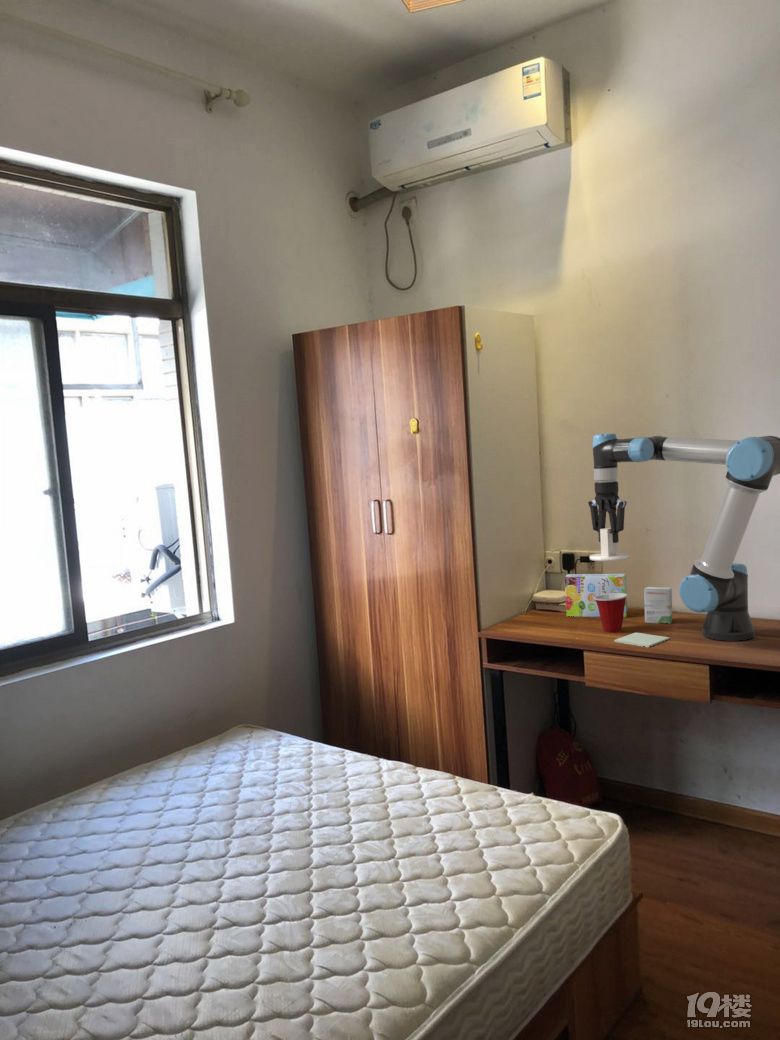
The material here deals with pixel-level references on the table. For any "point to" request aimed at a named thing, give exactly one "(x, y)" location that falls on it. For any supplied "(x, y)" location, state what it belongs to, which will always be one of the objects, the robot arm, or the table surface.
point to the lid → (607, 549)
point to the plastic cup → (611, 610)
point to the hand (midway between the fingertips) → (609, 552)
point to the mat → (641, 639)
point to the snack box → (591, 592)
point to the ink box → (658, 605)
